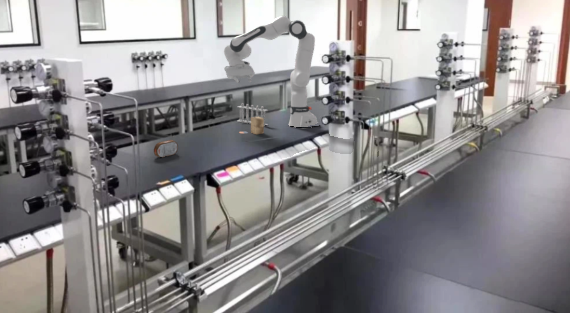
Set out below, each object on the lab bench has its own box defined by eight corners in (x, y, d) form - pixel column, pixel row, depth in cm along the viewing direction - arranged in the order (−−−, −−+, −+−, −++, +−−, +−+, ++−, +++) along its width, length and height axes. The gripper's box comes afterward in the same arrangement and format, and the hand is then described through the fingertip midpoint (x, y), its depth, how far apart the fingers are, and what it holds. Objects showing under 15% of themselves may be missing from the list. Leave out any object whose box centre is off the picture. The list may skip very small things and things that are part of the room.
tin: (175, 152, 289) (175, 138, 287) (179, 153, 287) (178, 139, 285) (153, 158, 278) (152, 143, 276) (157, 159, 276) (156, 144, 274)
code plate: (260, 130, 345) (260, 129, 345) (267, 135, 333) (267, 133, 333) (230, 132, 338) (230, 131, 337) (236, 137, 325) (236, 136, 325)
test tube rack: (268, 125, 362) (268, 106, 359) (264, 126, 359) (264, 107, 355) (240, 120, 376) (240, 102, 372) (236, 121, 373) (236, 103, 369)
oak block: (258, 131, 339) (258, 116, 336) (263, 133, 335) (263, 118, 332) (250, 132, 336) (250, 117, 333) (255, 134, 331) (255, 119, 328)
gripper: (225, 63, 341) (232, 80, 336) (251, 62, 352) (258, 78, 348) (221, 69, 345) (229, 86, 341) (247, 68, 357) (255, 83, 352)
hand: (244, 82), depth 344 cm, fingers open, 8 cm apart
